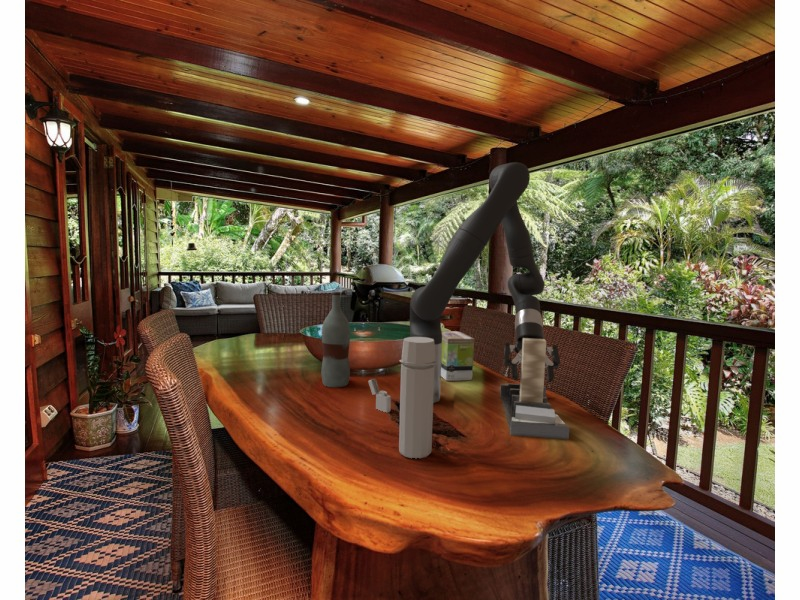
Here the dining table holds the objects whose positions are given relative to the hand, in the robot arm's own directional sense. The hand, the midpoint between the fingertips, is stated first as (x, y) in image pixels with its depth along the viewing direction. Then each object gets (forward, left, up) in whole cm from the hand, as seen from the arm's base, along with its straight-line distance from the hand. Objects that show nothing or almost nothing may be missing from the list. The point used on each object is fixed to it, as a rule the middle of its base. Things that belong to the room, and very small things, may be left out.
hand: (532, 380), depth 117 cm
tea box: (+10, +45, -11) cm, 48 cm away
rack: (+1, +1, -11) cm, 11 cm away
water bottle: (-36, 0, -11) cm, 38 cm away
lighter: (-30, +27, -11) cm, 42 cm away
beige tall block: (+1, +1, -10) cm, 10 cm away
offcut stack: (-6, -7, -10) cm, 13 cm away
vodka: (-31, +54, -11) cm, 63 cm away
